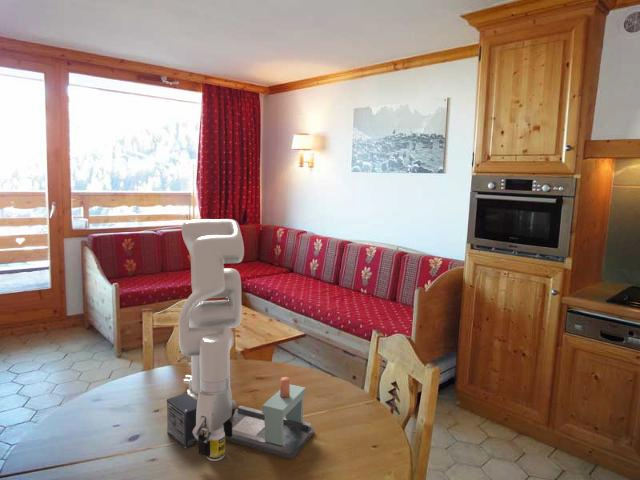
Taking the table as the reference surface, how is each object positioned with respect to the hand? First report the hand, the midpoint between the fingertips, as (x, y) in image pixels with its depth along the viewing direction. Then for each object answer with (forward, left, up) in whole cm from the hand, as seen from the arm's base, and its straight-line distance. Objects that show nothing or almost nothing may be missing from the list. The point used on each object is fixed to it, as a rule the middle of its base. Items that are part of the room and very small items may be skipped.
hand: (216, 444), depth 121 cm
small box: (-13, +4, -4) cm, 14 cm away
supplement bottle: (0, 0, -4) cm, 4 cm away
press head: (+13, +14, 0) cm, 19 cm away
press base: (+6, +14, -3) cm, 16 cm away
